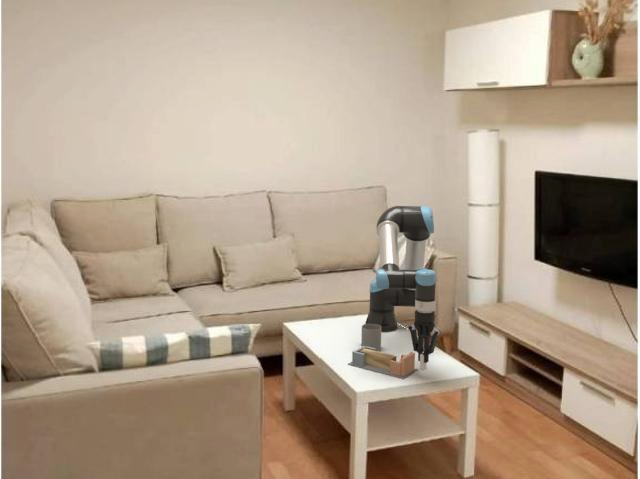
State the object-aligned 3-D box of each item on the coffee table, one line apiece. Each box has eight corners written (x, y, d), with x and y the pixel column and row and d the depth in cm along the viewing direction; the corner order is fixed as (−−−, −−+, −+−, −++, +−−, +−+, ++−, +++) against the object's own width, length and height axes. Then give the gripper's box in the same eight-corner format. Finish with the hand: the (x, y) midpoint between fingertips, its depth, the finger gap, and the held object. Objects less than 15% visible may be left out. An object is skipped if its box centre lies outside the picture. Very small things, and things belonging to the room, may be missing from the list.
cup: (379, 352, 313) (379, 330, 311) (360, 351, 315) (360, 328, 313) (381, 346, 321) (382, 324, 319) (363, 345, 323) (363, 323, 321)
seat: (364, 356, 308) (364, 344, 307) (418, 370, 293) (419, 357, 292) (347, 364, 299) (347, 352, 298) (403, 379, 284) (403, 365, 283)
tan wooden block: (364, 360, 303) (364, 348, 302) (396, 368, 294) (396, 356, 294) (359, 362, 300) (359, 351, 299) (391, 370, 291) (391, 358, 290)
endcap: (401, 366, 296) (402, 349, 295) (415, 369, 293) (415, 352, 291) (389, 373, 289) (390, 356, 287) (402, 376, 285) (403, 359, 284)
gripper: (404, 309, 281) (403, 369, 285) (435, 315, 274) (433, 376, 278) (414, 305, 287) (413, 363, 291) (444, 311, 280) (442, 370, 284)
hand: (422, 369), depth 285 cm, fingers closed
